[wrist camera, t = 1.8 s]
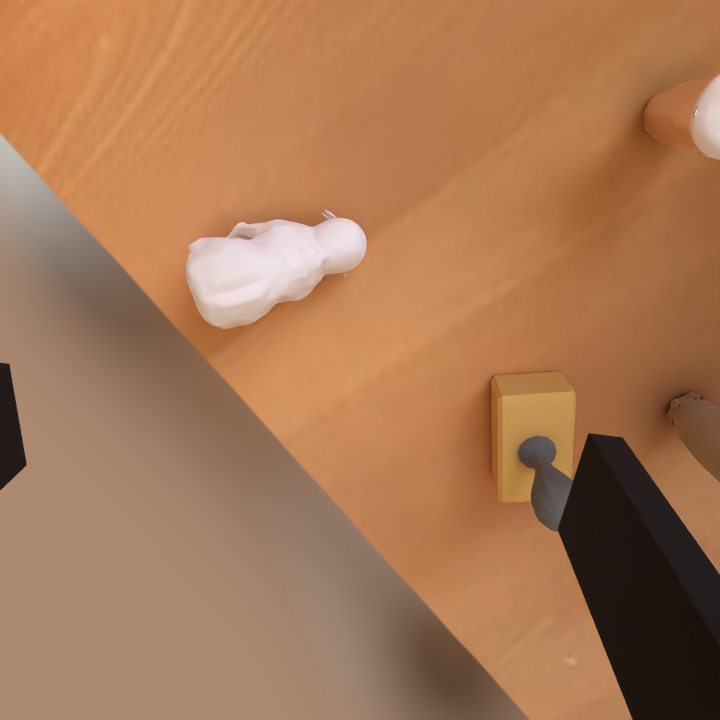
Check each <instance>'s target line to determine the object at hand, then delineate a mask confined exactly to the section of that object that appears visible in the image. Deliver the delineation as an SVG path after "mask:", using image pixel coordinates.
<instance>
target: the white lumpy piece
mask: <svg viewBox="0 0 720 720" xmlns="http://www.w3.org/2000/svg"><path fill="white" fill-rule="evenodd" d="M326 210H327V209H326ZM327 211H328V210H327ZM327 211H326V213H327V215H329V216H330V217H331V218H329V217H328V216H326V215H325V214H323V213H322V214H323V215H324V216H325V217H326V218H327V219H328V220H326V221H325V220H324V222H322V223H320V224H318V225H316V226H314V227H310V226H306V225H303V224H300V223H296V222H290V221H285V220H280V219H275V220H271V221H268V222H264V223H254V224H246V223H244V222H240V223H238V224H237V225H236V226H235V227H234V228H233V229H232V231H231V232H230V234H229V235H228V236H227V237H226V238H219V237H213V238H207V237H206V238H200V239H198V240H197V241H195V242H194V243H192V244H190V245H189V246H188V252H189V256H188V258H187V262H186V266H185V275H186V280H187V283H188V286H189V288H190V291H191V294H192V296H193V299H194V301H195V304H196V307H197V309H198V311H199V313H200V314H201V316H202V317H203V318H204V320H205V321H207V322H208V323H209V324H211V325H213V326H218V327H220V328H222V329H227V328H232V327H235V326H239V325H249V324H251V323H253V322H255V321H257V320H258V319H259V318H261V317H262V316H264V315H266V314H267V313H268V312H269V311H270V310H271V309H272V307H273V306H274V305H275V304H276V303H280V302H285V301H299V300H301V299H303V298H304V297H306V296H307V295H308V294H309V293H311V291H312V290H313V289H314V287H315V286H316V285H317V284H318V283H319V282H320V281H321V280H322V278H323V277H324V276H325V275H327V274H336V273H338V274H339V273H343V272H345V276H346V273H347V271H349V270H352V269H353V268H355V267H356V266H358V265H359V264H360V262H361V261H362V260H363V258H364V256H365V253H366V249H367V240H366V236H365V234H364V232H363V230H362V229H361V228H360V226H359V225H358V224H356V223H355V222H353V221H352V220H349V219H345V218H336V217H335V216H334V215H333V214H332V213H330V212H329V211H328V212H329V213H330V214H329V213H328V212H327ZM324 219H325V218H324ZM249 237H250V238H252V239H250V240H249ZM343 275H344V273H343Z"/></svg>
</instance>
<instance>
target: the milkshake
mask: <svg viewBox="0 0 720 720" xmlns="http://www.w3.org/2000/svg"><path fill="white" fill-rule="evenodd" d="M643 121H644V130H645V131H646V132H647V133H648V134H649V135H650V136H651V137H652V138H653V139H654V140H657V141H661V142H664V143H667V144H671V145H674V146H678V147H681V148H685V149H688V150H691V151H694V152H697V153H699V154H702V155H705V156H708V157H710V158H713V159H718V160H720V73H717V74H714V75H711V76H707V77H704V78H700V79H696V80H692V81H688V82H685V83H681V84H677V85H673V86H670V87H667V88H665V89H664V90H662V91H660V92H659V93H657V94H656V95H654V96H652V97H651V99H650V101H649V103H648V105H647V106H646V108H645V110H644V112H643Z"/></svg>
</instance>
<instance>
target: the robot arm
mask: <svg viewBox="0 0 720 720" xmlns="http://www.w3.org/2000/svg"><path fill="white" fill-rule="evenodd" d="M25 466H26V458H25V453H24V447H23V442H22V436H21V429H20V424H19V418H18V412H17V406H16V401H15V395H14V389H13V383H12V378H11V371H10V366H9V364H5V363H0V490H1V489H2V488H3V487H4V486H5V485H6V484H7V483H8V482H10V481H11V480H12V479H13V478H14V477H15V476H16V475H17V474H18V473H19V472H20V471H21V470H22V469H23V468H24V467H25ZM558 532H559V534H560V537H561V539H562V542H563V544H564V547H565V550H566V552H567V555H568V557H569V560H570V562H571V565H572V567H573V570H574V572H575V575H576V577H577V580H578V582H579V585H580V588H581V590H582V593H583V595H584V598H585V600H586V603H587V605H588V608H589V610H590V613H591V615H592V618H593V620H594V623H595V625H596V628H597V631H598V633H599V636H600V638H601V641H602V643H603V646H604V648H605V651H606V653H607V656H608V658H609V661H610V663H611V666H612V669H613V671H614V674H615V676H616V679H617V681H618V684H619V686H620V689H621V691H622V694H623V696H624V699H625V701H626V704H627V707H628V709H629V712H630V714H631V717H632V719H633V720H720V574H719V573H718V572H717V570H716V569H715V567H714V566H713V565H712V563H711V562H710V560H709V559H708V557H707V556H706V555H705V553H704V552H703V550H702V549H701V548H700V546H699V545H698V543H697V542H696V540H695V539H694V538H693V536H692V535H691V533H690V532H689V531H688V529H687V528H686V526H685V525H684V524H683V522H682V521H681V519H680V518H679V516H678V515H677V514H676V512H675V511H674V509H673V508H672V507H671V505H670V504H669V502H668V501H667V499H666V498H665V497H664V495H663V494H662V492H661V491H660V490H659V488H658V487H657V485H656V484H655V483H654V481H653V480H652V478H651V477H650V475H649V474H648V473H647V471H646V470H645V468H644V467H643V466H642V464H641V463H640V461H639V460H638V458H637V457H636V456H635V454H634V453H633V451H632V450H631V449H630V447H629V446H628V444H627V443H626V442H625V440H624V439H623V437H614V436H606V435H598V434H588V437H587V440H586V443H585V446H584V449H583V452H582V455H581V458H580V462H579V465H578V468H577V471H576V474H575V477H574V480H573V483H572V486H571V489H570V492H569V496H568V499H567V502H566V505H565V508H564V511H563V514H562V517H561V520H560V523H559V526H558Z"/></svg>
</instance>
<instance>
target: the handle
mask: <svg viewBox="0 0 720 720" xmlns="http://www.w3.org/2000/svg"><path fill="white" fill-rule="evenodd" d="M670 405H671V407H670V410H669V411H668V412H667V418H668V420H669V422H670V423H671V425H674V426H675V429H676V431H677V433H678V435H679V437H680V438H681V440H682V441H683V443H684V444H685V445H686V447H687V448H688V450H689V451H690V452H691V453H692V455H693V456H694V457H695V458H696V459H697V460H698V461H699V462H700V464H701V465H702V466H703V467H704V468H705V469H706V470H707V471H709V472H710V473H711V474H712V475H713V476H714V477H715V478H716V479H717V480H718V481H719V482H720V407H719V406H717V405H716V404H714V403H712V402H709V401H707V400H705V399H704V397H702V396H701V395H699V394H697V393H695V392H689V393H687V394H686V395H684V396H682V397H680V398H676V399H675V398H674V399H673V400H672V401H671V402H670Z"/></svg>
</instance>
